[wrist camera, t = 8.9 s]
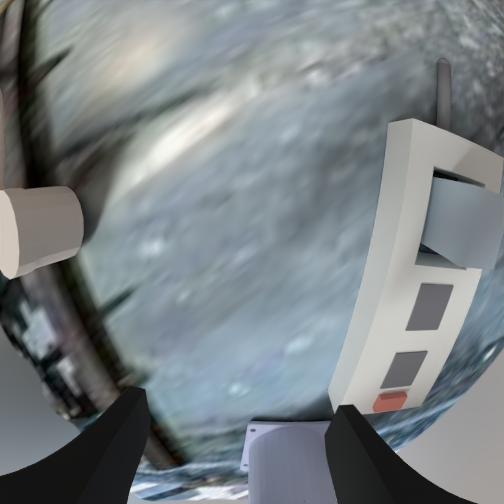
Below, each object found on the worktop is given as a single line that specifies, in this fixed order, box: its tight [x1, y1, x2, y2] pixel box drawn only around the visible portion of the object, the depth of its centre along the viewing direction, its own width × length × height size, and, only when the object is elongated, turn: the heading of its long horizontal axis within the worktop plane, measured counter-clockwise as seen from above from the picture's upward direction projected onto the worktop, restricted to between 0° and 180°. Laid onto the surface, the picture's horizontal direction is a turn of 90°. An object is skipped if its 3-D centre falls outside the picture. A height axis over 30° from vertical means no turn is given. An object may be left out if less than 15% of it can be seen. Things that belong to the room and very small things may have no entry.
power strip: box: [328, 59, 504, 414], centre depth 15 cm, size 26×8×4 cm, turn 174°
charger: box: [420, 177, 504, 270], centre depth 14 cm, size 4×3×6 cm
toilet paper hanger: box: [0, 88, 84, 279], centre depth 15 cm, size 20×5×16 cm
